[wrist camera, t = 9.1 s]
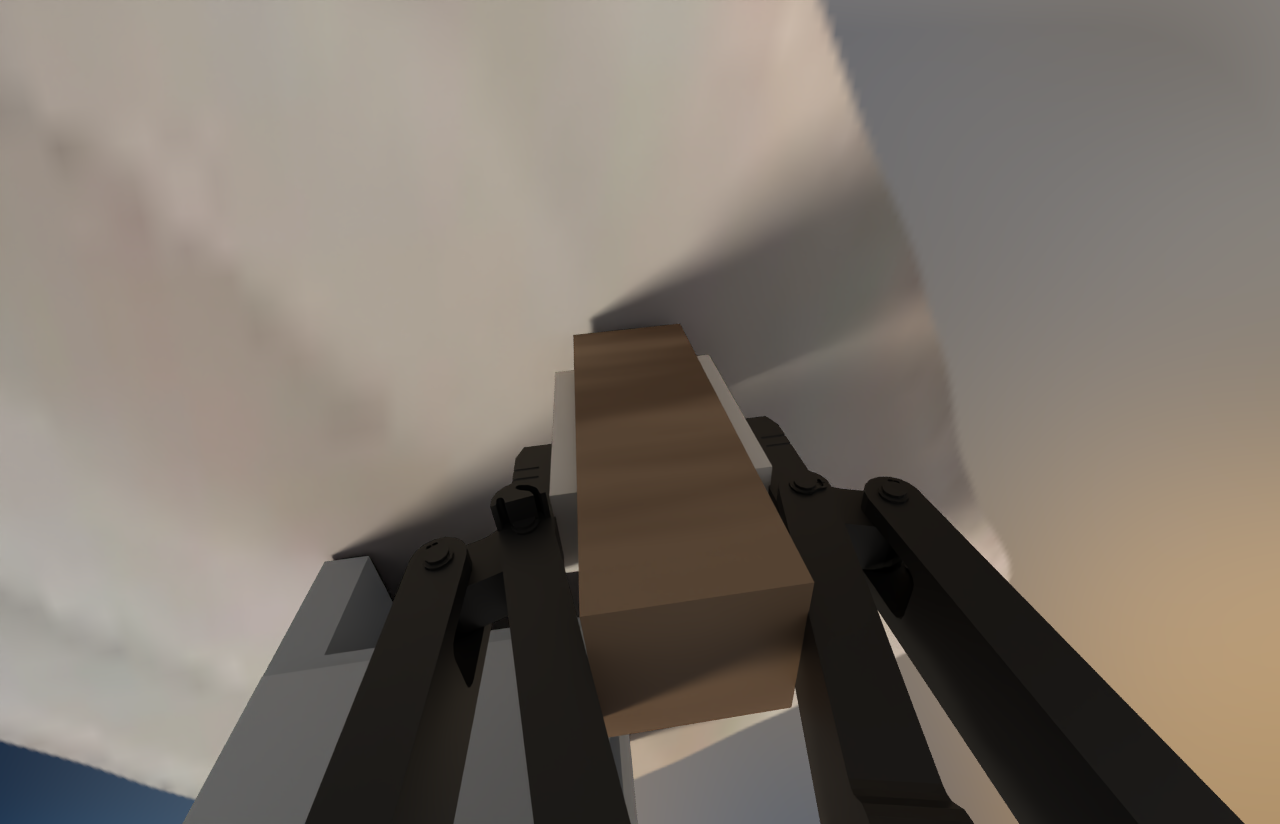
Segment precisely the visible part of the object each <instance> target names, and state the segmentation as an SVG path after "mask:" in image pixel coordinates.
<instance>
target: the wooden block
mask: <svg viewBox="0 0 1280 824" xmlns="http://www.w3.org/2000/svg"><path fill="white" fill-rule="evenodd" d="M573 337H574V383H575V429H576V475H577V521H578V567H579V613H580V621H581V626H582V631H583V636H584V641H585V646H586V651H587V656H588V661H589V665H590V669H591V672H592V676H593V680H594V684H595V688H596V692H597V695H598V699H599V703H600V707H601V711H602V715H603V718H604V722H605V726H606V730H607V734H608V738H609V737H615V736H621V735H627V734H633V733H639V732H645V731H651V730H657V729H663V728H669V727H676V726H682V725H688V724H694V723H700V722H706V721H712V720H718V719H724V718H730V717H736V716H742V715H748V714H754V713H760V712H766V711H772V710H778V709H784V708H790V707H791V706H792V700H793V695H794V690H795V683H796V678H797V672H798V666H799V661H800V655H801V650H802V644H803V638H804V633H805V627H806V621H807V616H808V611H809V608H810V603H811V598H812V592H813V587H814V581H813V579H812V577H811V575H810V573H809V571H808V569H807V567H806V565H805V563H804V562H803V560H802V558H801V556H800V554H799V552H798V550H797V548H796V546H795V544H794V542H793V540H792V538H791V537H790V535H789V533H788V531H787V529H786V527H785V525H784V523H783V521H782V519H781V517H780V515H779V513H778V512H777V510H776V508H775V506H774V504H773V502H772V500H771V498H770V496H769V494H768V492H767V490H766V488H765V486H764V485H763V483H762V481H761V479H760V477H759V475H758V473H757V471H756V469H755V467H754V465H753V463H752V461H751V460H750V458H749V456H748V454H747V452H746V450H745V448H744V446H743V444H742V442H741V440H740V438H739V436H738V435H737V433H736V431H735V429H734V427H733V425H732V423H731V421H730V419H729V417H728V415H727V413H726V411H725V409H724V408H723V406H722V404H721V402H720V400H719V398H718V396H717V394H716V392H715V390H714V388H713V386H712V384H711V383H710V381H709V379H708V377H707V375H706V373H705V371H704V369H703V367H702V365H701V363H700V361H699V359H698V358H697V356H696V354H695V352H694V350H693V348H692V346H691V344H690V342H689V340H688V338H687V336H686V334H685V332H684V331H683V329H682V327H681V325H680V324H673V325H663V326H654V327H644V328H635V329H626V330H616V331H607V332H598V333H588V334H579V335H573Z"/></svg>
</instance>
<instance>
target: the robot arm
mask: <svg viewBox="0 0 1280 824" xmlns="http://www.w3.org/2000/svg"><path fill="white" fill-rule="evenodd" d="M697 358H698V359H699V361H700V363H701V365H702V367H703V369H704V371H705V373H706V375H707V377H708V379H709V381H710V383H711V384H712V386H713V388H714V390H715V392H716V394H717V396H718V398H719V400H720V402H721V404H722V406H723V408H724V409H725V411H726V413H727V415H728V417H729V419H730V421H731V423H732V425H733V427H734V429H735V431H736V433H737V435H738V436H739V438H740V440H741V442H742V444H743V446H744V448H745V450H746V452H747V454H748V456H749V458H750V460H751V461H752V463H753V465H754V467H755V469H756V471H757V473H758V475H759V477H760V479H761V481H762V483H763V485H764V486H765V488H766V490H767V492H768V494H769V496H770V498H771V500H772V502H773V504H774V506H775V508H776V510H777V512H778V513H779V515H780V517H781V519H782V521H783V523H784V525H785V527H786V529H787V531H788V533H789V535H790V537H791V538H792V540H793V542H794V544H795V546H796V548H797V550H798V552H799V554H800V556H801V558H802V560H803V562H804V563H805V565H806V567H807V569H808V571H809V573H810V575H811V577H812V579H813V581H814V587H813V592H812V598H811V603H810V608H809V611H808V616H807V621H806V627H805V633H804V638H803V644H802V650H801V655H800V661H799V666H798V672H797V678H796V683H795V689H796V694H797V699H798V705H799V710H800V716H801V721H802V726H803V732H804V737H805V742H806V748H807V753H808V759H809V764H810V769H811V774H812V780H813V786H814V791H815V796H816V802H817V807H818V812H819V818H820V823H821V824H974V823H973V821H972V820H971V819H970V817H969V815H968V814H967V813H966V811H965V810H964V809H963V808H961V807H960V806H958V805H957V804H955V803H954V802H952V801H951V799H950V798H949V796H948V795H947V793H946V791H945V789H944V787H943V784H942V782H941V779H940V776H939V774H938V771H937V768H936V766H935V763H934V760H933V758H932V755H931V752H930V750H929V747H928V744H927V742H926V739H925V736H924V734H923V731H922V728H921V726H920V723H919V720H918V718H917V715H916V712H915V710H914V708H913V704H912V702H911V699H910V696H909V694H908V691H907V688H906V686H905V683H904V680H903V678H902V675H901V672H900V670H899V667H898V664H897V662H896V659H895V656H894V654H893V651H892V648H891V646H890V643H889V640H888V637H887V635H886V632H885V629H884V627H883V624H882V621H881V619H880V616H879V613H880V614H881V616H882V617H883V619H884V620H885V622H886V623H887V625H888V626H889V628H890V629H891V631H892V632H893V634H894V635H895V637H896V638H897V640H898V641H899V643H900V644H901V646H902V647H903V649H904V650H905V652H906V653H907V655H908V657H909V658H910V660H911V661H912V662H913V664H914V665H915V667H916V669H917V670H918V672H919V673H920V674H921V676H922V678H923V679H924V681H925V682H926V684H927V685H928V687H929V688H930V690H931V691H932V693H933V694H934V696H935V697H936V698H937V700H938V702H939V703H940V705H941V706H942V708H943V709H944V711H945V712H946V714H947V715H948V717H949V718H950V720H951V721H952V723H953V724H954V726H955V727H956V729H957V730H958V732H959V733H960V735H961V736H962V738H963V739H964V741H965V742H966V744H967V746H968V747H969V749H970V750H971V751H972V753H973V754H974V756H975V758H976V759H977V761H978V762H979V764H980V765H981V767H982V768H983V770H984V771H985V772H986V774H987V776H988V777H989V779H990V780H991V782H992V783H993V785H994V786H995V788H996V789H997V791H998V792H999V794H1000V795H1001V797H1002V798H1003V800H1004V801H1005V803H1006V804H1007V806H1008V807H1009V809H1010V810H1011V812H1012V813H1013V815H1014V816H1015V818H1016V819H1017V821H1018V822H1019V824H1244V823H1243V822H1242V821H1241V820H1240V818H1238V816H1236V814H1235V813H1234V812H1233V811H1232V810H1230V808H1229V807H1228V806H1227V805H1226V804H1225V803H1224V802H1223V801H1222V800H1221V799H1220V798H1219V797H1218V796H1217V795H1216V794H1215V793H1214V792H1213V791H1212V790H1211V789H1210V788H1209V787H1208V786H1207V785H1206V784H1205V783H1204V782H1203V781H1202V780H1201V779H1200V778H1199V777H1198V776H1197V775H1196V774H1195V773H1194V772H1193V770H1192V769H1191V768H1190V767H1189V766H1188V765H1187V764H1186V763H1184V761H1183V760H1182V759H1180V757H1179V756H1178V755H1177V754H1176V753H1175V752H1174V751H1173V750H1172V749H1171V748H1170V747H1169V746H1168V745H1167V744H1166V743H1165V742H1164V741H1163V740H1162V739H1161V738H1160V737H1159V736H1158V735H1157V734H1156V733H1155V732H1154V731H1153V730H1152V729H1151V728H1150V727H1149V726H1148V724H1147V723H1146V722H1144V720H1143V719H1142V718H1141V717H1140V716H1139V715H1138V714H1137V713H1136V712H1135V711H1134V710H1133V709H1132V708H1131V707H1130V706H1129V705H1128V704H1127V703H1126V702H1125V701H1124V700H1123V699H1122V698H1121V697H1120V696H1119V695H1118V694H1117V693H1116V692H1115V691H1114V690H1113V689H1112V688H1111V687H1110V686H1109V685H1108V684H1107V683H1106V682H1105V681H1104V680H1103V678H1102V677H1101V676H1099V674H1098V673H1097V672H1095V670H1094V669H1093V668H1092V667H1091V666H1090V665H1089V664H1088V663H1087V662H1086V661H1085V660H1084V659H1083V658H1082V657H1081V656H1080V655H1079V654H1078V653H1077V652H1076V651H1075V650H1074V649H1073V648H1072V647H1071V646H1070V645H1069V644H1068V643H1067V642H1066V641H1065V640H1064V639H1063V638H1062V637H1061V636H1060V635H1059V634H1058V633H1057V632H1056V631H1055V630H1054V628H1053V627H1052V626H1051V625H1050V624H1049V623H1048V622H1047V621H1046V620H1045V619H1044V618H1043V617H1042V616H1041V615H1040V614H1039V613H1038V612H1037V611H1036V610H1035V609H1034V608H1033V607H1032V606H1031V605H1030V604H1029V603H1028V602H1027V601H1026V600H1025V599H1024V598H1023V597H1022V596H1021V595H1020V594H1019V593H1018V592H1017V591H1016V590H1015V589H1014V588H1013V587H1012V585H1011V584H1009V582H1008V581H1007V580H1006V579H1005V578H1004V577H1003V576H1002V575H1001V574H1000V573H999V572H998V571H997V570H996V569H995V568H994V567H993V566H992V565H991V564H990V563H989V562H988V561H987V560H986V559H985V558H984V557H983V556H982V555H981V554H980V553H979V552H978V551H977V550H976V549H975V548H974V547H973V546H972V545H971V544H970V543H969V542H968V541H967V540H966V538H965V537H964V536H963V535H962V534H961V533H960V532H959V531H958V530H957V529H956V528H955V527H954V526H953V525H952V524H951V523H950V522H949V521H948V520H947V519H946V518H945V517H944V516H943V515H942V514H941V513H940V512H939V511H938V510H937V509H936V508H935V507H934V506H933V505H932V504H931V503H930V502H929V501H928V500H927V499H926V498H925V497H924V496H923V495H922V494H921V492H920V491H919V490H918V489H916V488H915V487H914V486H912V485H911V484H910V483H907V482H905V481H903V480H900V479H897V478H892V477H877V478H874V479H871V480H869V481H868V482H867V483H866V484H865V488H864V491H859V490H848V489H840V488H834V487H831V486H830V484H829V483H828V481H827V480H826V479H825V478H823V477H822V476H821V475H819V474H816V473H814V472H811V471H808V469H807V468H806V466H805V465H804V463H803V461H802V460H801V458H800V457H799V455H798V454H797V452H796V451H795V449H794V448H793V446H792V445H791V444H790V442H789V440H788V439H787V437H786V436H785V435H784V433H783V431H782V430H781V428H780V427H779V425H778V424H777V423H775V422H774V421H772V420H771V419H769V418H768V417H766V416H763V417H755V418H747V419H745V417H744V416H743V414H742V412H741V410H740V409H739V407H738V405H737V403H736V402H735V400H734V398H733V396H732V395H731V393H730V391H729V389H728V387H727V386H726V384H725V382H724V380H723V379H722V377H721V375H720V373H719V372H718V370H717V368H716V366H715V365H714V363H713V361H712V359H711V357H710V356H709V355H701V356H697ZM490 507H491V510H492V514H493V517H494V520H495V523H496V527H497V531H496V532H494V533H493V534H492V535H490V536H488V537H486V538H484V539H482V540H479V541H477V542H474V543H472V544H469V545H465V544H464V542H463V541H462V540H459V539H457V538H454V537H444V538H440V539H435V540H433V541H431V542H429V543H427V544H425V545H423V546H422V547H421V548H420V549H419V550H417V551H416V552H415V553H414V555H413V557H412V558H411V560H410V561H409V564H408V566H407V569H406V571H405V574H404V576H403V579H402V581H401V584H400V586H399V589H398V591H397V594H396V596H395V599H394V601H393V604H392V606H391V609H390V611H389V614H388V616H387V619H386V621H385V624H384V626H383V629H382V631H381V634H380V636H379V639H378V641H377V644H376V646H375V649H374V651H373V654H372V656H371V659H370V661H369V664H368V666H367V669H366V671H365V674H364V676H363V679H362V681H361V684H360V686H359V689H358V691H357V694H356V696H355V699H354V701H353V704H352V706H351V709H350V711H349V714H348V716H347V719H346V721H345V724H344V726H343V729H342V732H341V734H340V737H339V739H338V742H337V744H336V747H335V749H334V752H333V754H332V757H331V759H330V762H329V764H328V767H327V769H326V772H325V774H324V777H323V779H322V782H321V784H320V787H319V789H318V792H317V794H316V797H315V799H314V802H313V804H312V807H311V809H310V812H309V814H308V817H307V819H306V822H305V824H454V819H455V814H456V808H457V803H458V798H459V793H460V788H461V782H462V777H463V772H464V767H465V762H466V756H467V751H468V746H469V741H470V735H471V730H472V725H473V720H474V715H475V709H476V704H477V699H478V694H479V689H480V683H481V678H482V673H483V668H484V663H485V657H486V652H487V647H488V642H489V636H490V631H491V626H492V623H493V622H495V621H497V620H500V619H502V618H504V617H506V616H508V617H509V625H510V634H511V642H512V650H513V658H514V666H515V674H516V683H517V691H518V699H519V707H520V715H521V723H522V731H523V740H524V748H525V756H526V764H527V772H528V780H529V789H530V797H531V805H532V813H533V821H534V824H631V822H630V818H629V815H628V811H627V807H626V803H625V799H624V795H623V792H622V788H621V784H620V780H619V776H618V772H617V768H616V765H615V761H614V757H613V753H612V749H611V745H610V742H609V738H608V734H607V730H606V726H605V722H604V718H603V715H602V711H601V707H600V703H599V699H598V695H597V692H596V688H595V684H594V680H593V676H592V672H591V669H590V665H589V661H588V657H587V653H586V649H585V645H584V642H583V638H582V634H581V630H580V626H579V622H578V619H577V615H576V611H575V607H574V603H573V599H572V595H571V592H570V588H569V584H568V580H567V576H566V573H568V572H575V571H579V567H578V521H577V475H576V429H575V383H574V370H571V371H562V372H555V391H554V412H553V432H552V444H548V445H540V446H532V447H524V448H523V450H522V451H521V452H520V454H519V455H518V456H517V457H516V460H515V467H514V474H513V481H512V484H511V485H508V486H505V487H504V488H503V489H501V490H500V491H498V492H497V493H496V494H495V496H494V497H493V498H492V501H491V506H490ZM564 566H565V569H564ZM565 571H566V572H565ZM877 610H878V611H879V613H878V611H877Z"/></svg>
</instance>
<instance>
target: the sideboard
mask: <svg viewBox="0 0 1280 824" xmlns="http://www.w3.org/2000/svg"><path fill="white" fill-rule="evenodd" d="M392 604H393V602H392V600H391V598H390V596H389V594H388V592H387V590H386V588H385V586H384V584H383V582H382V581H381V579H380V577H379V575H378V573H377V571H376V569H375V567H374V565H373V563H372V561H371V559H370V557H369V556H364V557H356V558H349V559H342V560H334V561H327V562H324V564H323V566H322V568H321V570H320V572H319V573H318V575H317V577H316V579H315V581H314V583H313V584H312V586H311V588H310V590H309V592H308V594H307V596H306V597H305V599H304V601H303V603H302V605H301V607H300V609H299V610H298V612H297V614H296V616H295V618H294V620H293V622H292V623H291V625H290V627H289V629H288V631H287V633H286V634H285V636H284V638H283V640H282V642H281V644H280V646H279V647H278V649H277V651H276V653H275V655H274V657H273V659H272V660H271V662H270V664H269V666H268V668H267V670H266V672H265V673H264V675H263V677H262V678H261V680H260V681H259V683H258V685H257V687H256V689H255V691H254V693H253V694H252V696H251V698H250V700H249V702H248V704H247V706H246V707H245V709H244V711H243V713H242V715H241V717H240V718H239V720H238V722H237V724H236V726H235V728H234V730H233V731H232V733H231V735H230V737H229V739H228V741H227V742H226V744H225V746H224V748H223V750H222V752H221V754H220V755H219V757H218V759H217V761H216V763H215V765H214V767H213V768H212V770H211V772H210V774H209V776H208V778H207V779H206V781H205V783H204V785H203V787H202V789H201V791H200V792H199V794H198V796H197V798H196V800H195V802H194V803H193V805H192V807H191V809H190V811H189V813H188V815H187V816H186V819H185V820H184V822H183V824H305V822H306V819H307V817H308V814H309V812H310V809H311V807H312V804H313V802H314V799H315V797H316V794H317V792H318V789H319V787H320V784H321V782H322V779H323V777H324V774H325V772H326V769H327V767H328V764H329V762H330V759H331V757H332V754H333V752H334V749H335V747H336V744H337V742H338V739H339V737H340V734H341V732H342V729H343V726H344V724H345V721H346V719H347V716H348V714H349V711H350V709H351V706H352V704H353V701H354V699H355V696H356V694H357V691H358V689H359V686H360V684H361V681H362V679H363V676H364V674H365V671H366V669H367V666H368V664H369V661H370V659H371V656H372V654H373V651H374V649H375V646H376V644H377V641H378V639H379V636H380V634H381V631H382V629H383V626H384V624H385V621H386V619H387V616H388V614H389V611H390V609H391V606H392ZM577 619H578V622H579V626H580V630H581V634H582V638H583V642H584V645H585V641H584V636H583V631H582V626H581V621H580V617H578V618H577ZM585 649H586V646H585ZM586 653H587V651H586ZM587 657H588V656H587ZM609 742H610V745H611V749H612V753H613V757H614V761H615V765H616V768H617V772H618V776H619V780H620V784H621V788H622V792H623V795H624V799H625V803H626V807H627V811H628V815H629V818H630V822H631V824H638V820H637V810H636V800H635V790H634V779H633V768H632V758H631V748H630V737H629V734H627V735H621V736H615V737H609ZM454 824H534V821H533V813H532V805H531V797H530V789H529V780H528V772H527V764H526V756H525V748H524V740H523V731H522V723H521V715H520V707H519V699H518V691H517V683H516V674H515V666H514V658H513V650H512V642H511V634H510V628H504V629H498V630H491V631H490V636H489V642H488V647H487V652H486V657H485V663H484V668H483V673H482V678H481V683H480V689H479V694H478V699H477V704H476V709H475V715H474V720H473V725H472V730H471V735H470V741H469V746H468V751H467V756H466V762H465V767H464V772H463V777H462V782H461V788H460V793H459V798H458V803H457V808H456V814H455V819H454Z"/></svg>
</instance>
